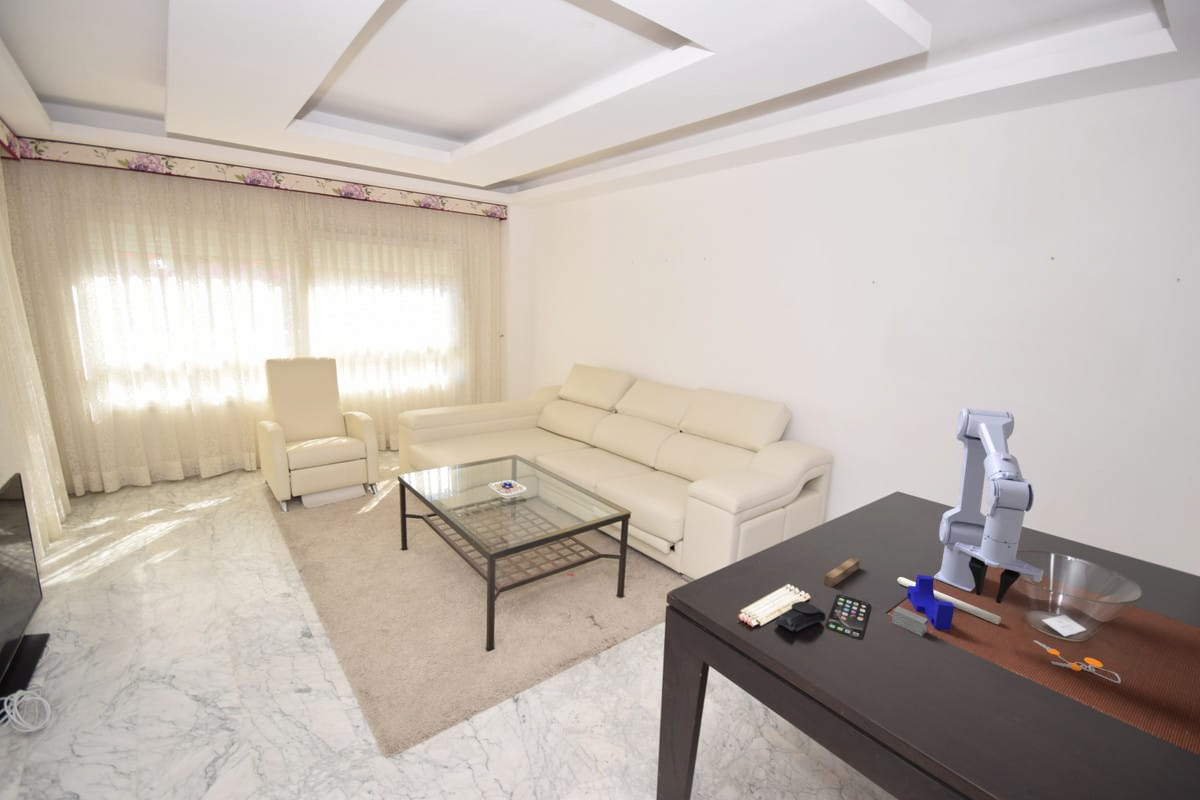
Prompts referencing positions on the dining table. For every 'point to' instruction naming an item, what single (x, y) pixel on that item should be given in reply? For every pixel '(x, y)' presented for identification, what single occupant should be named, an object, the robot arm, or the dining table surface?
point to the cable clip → (930, 603)
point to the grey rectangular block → (910, 621)
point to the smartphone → (848, 616)
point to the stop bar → (841, 572)
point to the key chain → (1076, 667)
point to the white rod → (957, 603)
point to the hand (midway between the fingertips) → (989, 597)
